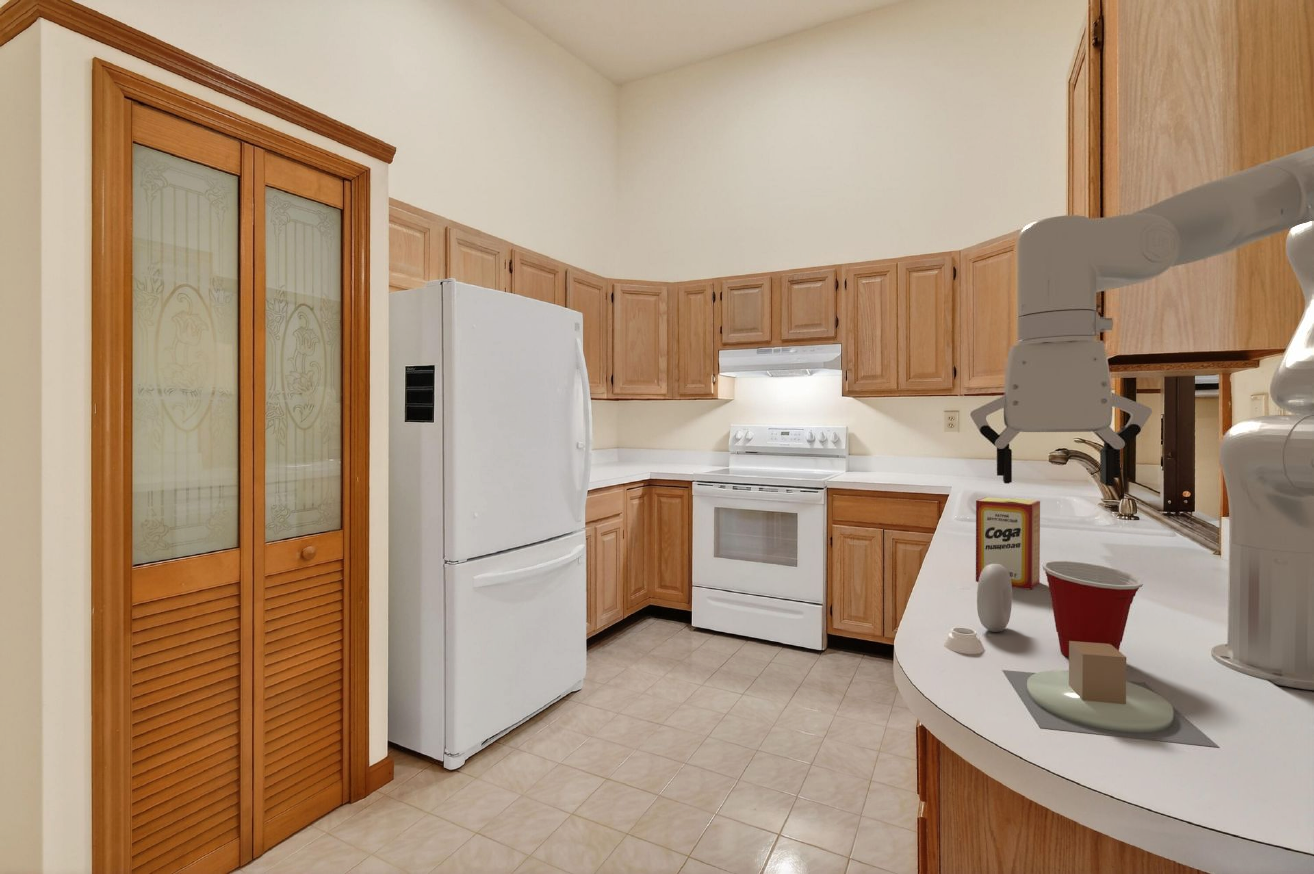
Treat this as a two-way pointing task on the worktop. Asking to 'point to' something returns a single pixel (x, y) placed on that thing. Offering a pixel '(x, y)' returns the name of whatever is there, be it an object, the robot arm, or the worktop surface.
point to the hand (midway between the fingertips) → (1055, 483)
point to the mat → (1177, 733)
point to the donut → (994, 597)
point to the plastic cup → (1090, 602)
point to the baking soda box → (1009, 538)
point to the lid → (1099, 692)
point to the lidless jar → (964, 641)
